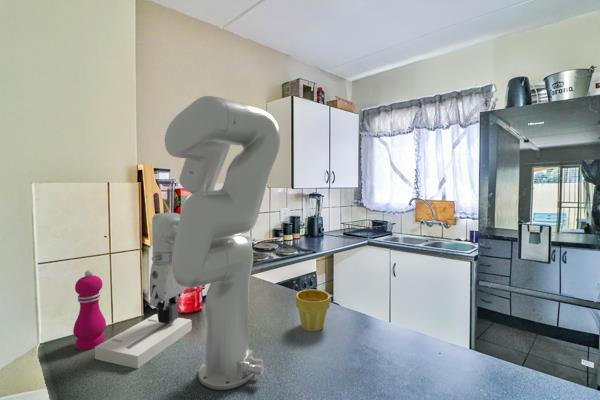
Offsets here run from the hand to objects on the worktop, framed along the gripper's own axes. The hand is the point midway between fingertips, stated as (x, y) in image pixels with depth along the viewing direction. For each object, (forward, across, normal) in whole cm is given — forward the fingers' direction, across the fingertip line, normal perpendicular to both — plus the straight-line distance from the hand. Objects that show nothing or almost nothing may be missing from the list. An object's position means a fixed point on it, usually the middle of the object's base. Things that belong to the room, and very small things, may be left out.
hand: (168, 319), depth 87 cm
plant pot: (+4, +17, -38) cm, 42 cm away
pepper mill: (+4, -11, +16) cm, 20 cm away
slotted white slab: (+4, -6, +2) cm, 7 cm away
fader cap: (+1, 0, 0) cm, 1 cm away
